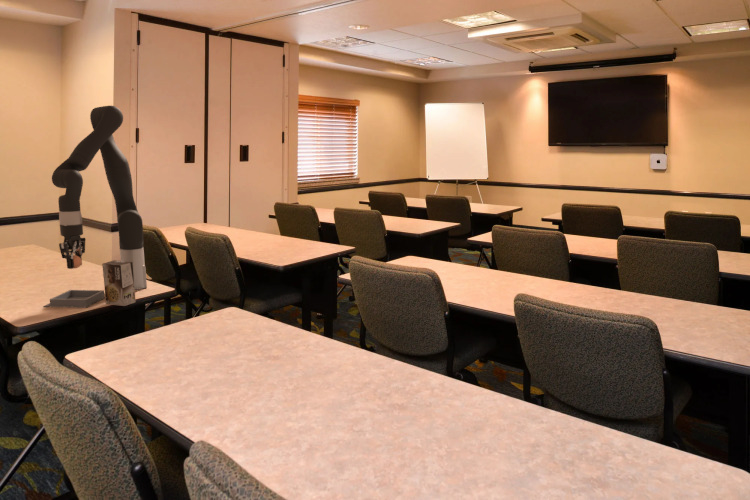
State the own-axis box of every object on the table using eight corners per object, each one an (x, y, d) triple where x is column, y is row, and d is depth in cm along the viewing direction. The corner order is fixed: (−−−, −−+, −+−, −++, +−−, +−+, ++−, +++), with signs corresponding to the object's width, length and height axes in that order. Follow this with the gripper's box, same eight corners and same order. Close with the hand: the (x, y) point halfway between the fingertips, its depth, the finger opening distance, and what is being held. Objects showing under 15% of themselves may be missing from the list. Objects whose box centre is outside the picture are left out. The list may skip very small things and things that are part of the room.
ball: (82, 266, 215) (81, 253, 214) (82, 269, 211) (81, 256, 210) (67, 267, 213) (66, 254, 212) (67, 270, 208) (66, 257, 207)
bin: (104, 297, 221) (103, 290, 220) (86, 307, 207) (85, 299, 207) (70, 297, 221) (70, 289, 220) (50, 306, 208) (49, 299, 207)
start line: (69, 296, 221) (69, 296, 221) (48, 307, 207) (48, 306, 207) (65, 296, 221) (64, 296, 221) (43, 306, 207) (43, 306, 207)
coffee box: (136, 302, 215) (133, 261, 212) (123, 306, 209) (120, 265, 206) (117, 299, 218) (114, 259, 215) (105, 304, 212) (101, 262, 209)
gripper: (72, 220, 216) (75, 262, 219) (49, 225, 201) (53, 270, 205) (91, 220, 215) (94, 263, 218) (69, 225, 201) (73, 271, 204)
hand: (74, 266), depth 212 cm, fingers closed on ball, 5 cm apart
